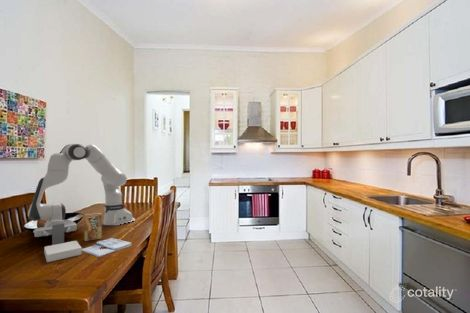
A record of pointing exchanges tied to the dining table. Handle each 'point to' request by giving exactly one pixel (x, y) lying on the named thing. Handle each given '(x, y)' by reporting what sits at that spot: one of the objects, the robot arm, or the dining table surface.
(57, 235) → the tall block
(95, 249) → the folded bicycle print cloth
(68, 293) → the dining table surface
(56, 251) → the white block
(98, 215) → the candy box
